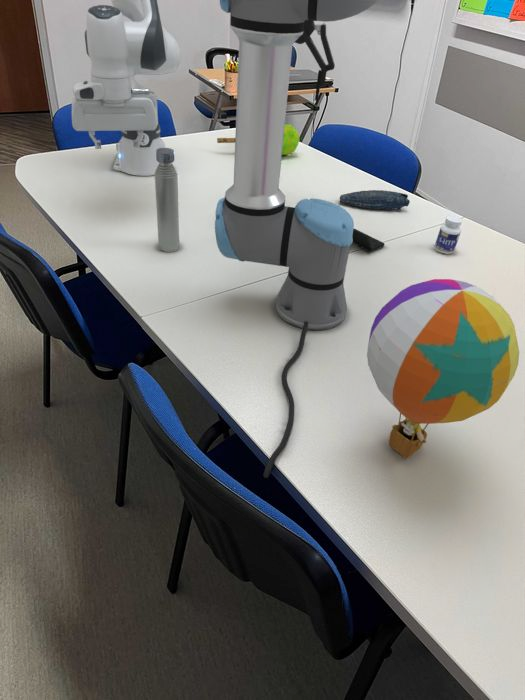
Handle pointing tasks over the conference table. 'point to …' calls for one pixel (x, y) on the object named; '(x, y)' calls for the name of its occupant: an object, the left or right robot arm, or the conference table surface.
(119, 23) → the left robot arm
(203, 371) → the conference table surface
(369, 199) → the fish model
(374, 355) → the toy
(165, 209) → the bottle
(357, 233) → the handheld gaming console
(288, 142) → the decorative tree
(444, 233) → the pill bottle
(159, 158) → the cap
